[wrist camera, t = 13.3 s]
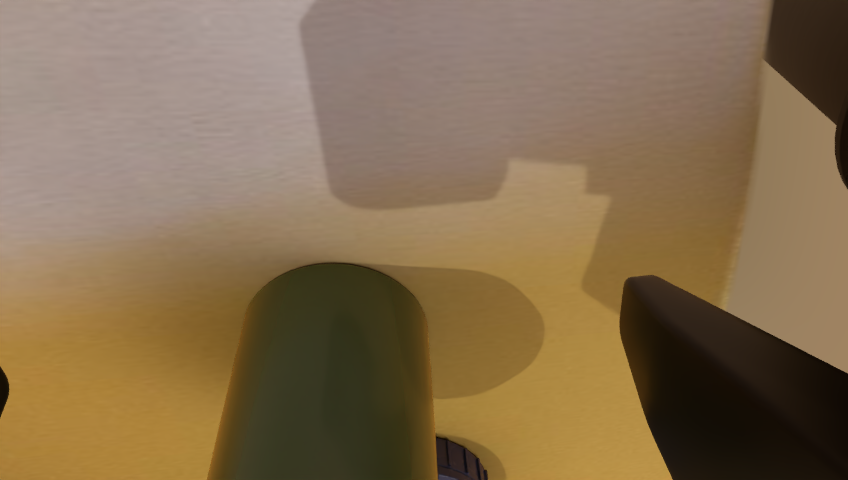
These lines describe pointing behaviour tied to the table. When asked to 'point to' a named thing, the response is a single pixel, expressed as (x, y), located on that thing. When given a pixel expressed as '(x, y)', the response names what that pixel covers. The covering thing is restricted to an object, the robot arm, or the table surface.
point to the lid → (457, 462)
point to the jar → (329, 382)
